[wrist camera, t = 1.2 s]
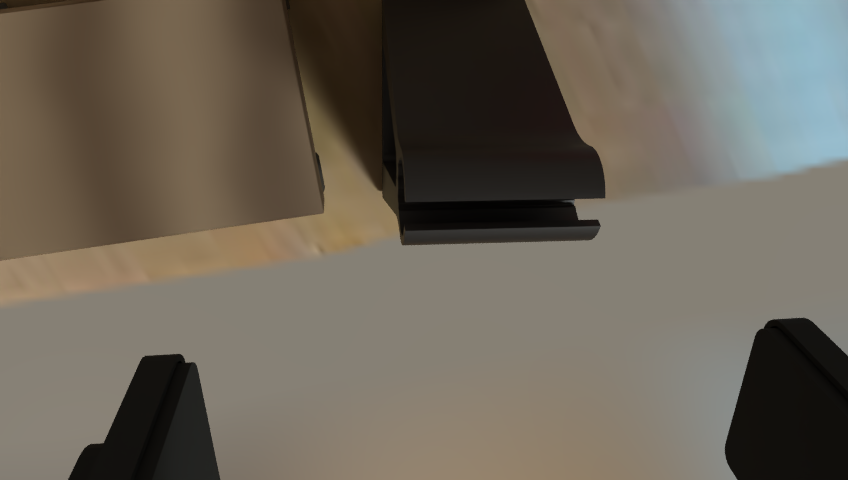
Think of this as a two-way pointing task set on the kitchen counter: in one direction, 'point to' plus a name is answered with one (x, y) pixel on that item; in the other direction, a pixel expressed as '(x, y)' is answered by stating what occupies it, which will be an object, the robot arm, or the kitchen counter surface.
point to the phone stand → (478, 128)
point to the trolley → (149, 122)
